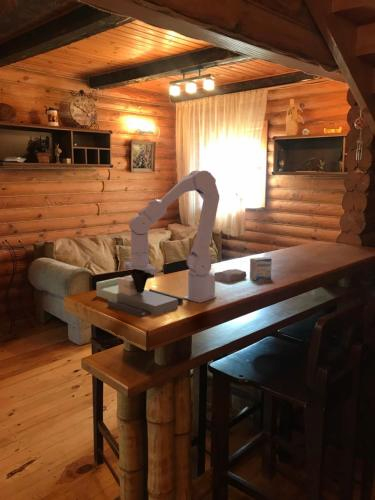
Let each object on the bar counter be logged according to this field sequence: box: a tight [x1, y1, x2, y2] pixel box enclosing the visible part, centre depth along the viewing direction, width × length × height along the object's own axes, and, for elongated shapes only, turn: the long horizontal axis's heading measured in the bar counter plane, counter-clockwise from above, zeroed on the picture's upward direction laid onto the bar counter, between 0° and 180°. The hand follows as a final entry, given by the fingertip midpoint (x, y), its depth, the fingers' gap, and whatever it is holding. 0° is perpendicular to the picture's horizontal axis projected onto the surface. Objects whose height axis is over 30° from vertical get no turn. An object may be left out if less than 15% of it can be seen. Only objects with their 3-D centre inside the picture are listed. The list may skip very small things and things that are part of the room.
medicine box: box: [249, 256, 273, 281], centre depth 178 cm, size 8×4×9 cm, turn 115°
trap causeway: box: [95, 277, 184, 318], centre depth 147 cm, size 19×30×5 cm, turn 47°
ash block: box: [117, 274, 142, 296], centre depth 147 cm, size 6×6×5 cm
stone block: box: [213, 268, 247, 284], centre depth 178 cm, size 12×5×10 cm
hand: (140, 291), depth 145 cm, fingers closed
